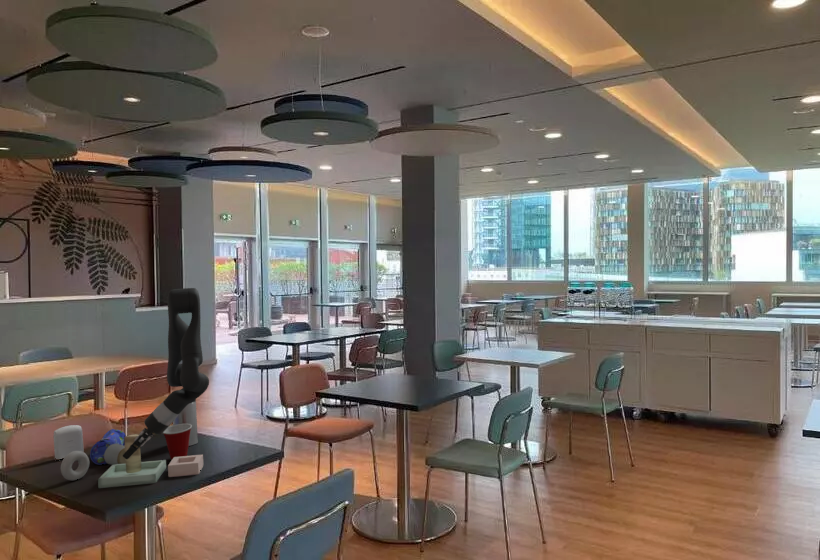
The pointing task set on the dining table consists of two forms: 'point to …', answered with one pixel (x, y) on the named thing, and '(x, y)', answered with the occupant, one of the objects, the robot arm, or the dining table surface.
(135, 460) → the dowel
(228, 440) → the dining table surface
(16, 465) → the dining table surface
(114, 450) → the ceramic mug
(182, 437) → the plastic cup
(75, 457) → the donut
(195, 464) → the socket block
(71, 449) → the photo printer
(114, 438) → the pencil case
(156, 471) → the tray
